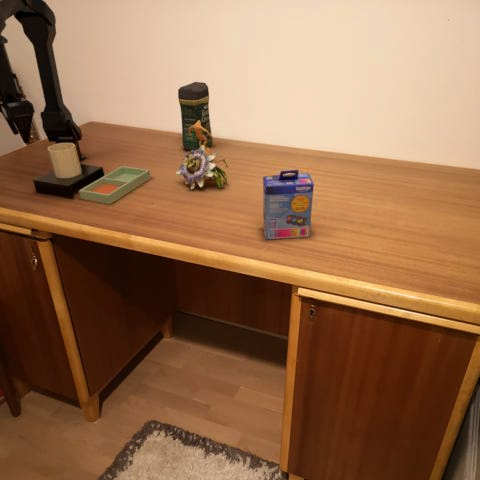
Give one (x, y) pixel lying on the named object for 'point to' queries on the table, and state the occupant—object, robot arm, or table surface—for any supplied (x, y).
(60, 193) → the flat black slab base
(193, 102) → the coffee jar
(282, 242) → the table surface
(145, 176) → the tray
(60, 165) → the cup
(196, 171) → the passion flower
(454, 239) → the table surface
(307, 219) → the ink cartridge box
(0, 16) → the robot arm
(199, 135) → the figurine
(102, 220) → the table surface
